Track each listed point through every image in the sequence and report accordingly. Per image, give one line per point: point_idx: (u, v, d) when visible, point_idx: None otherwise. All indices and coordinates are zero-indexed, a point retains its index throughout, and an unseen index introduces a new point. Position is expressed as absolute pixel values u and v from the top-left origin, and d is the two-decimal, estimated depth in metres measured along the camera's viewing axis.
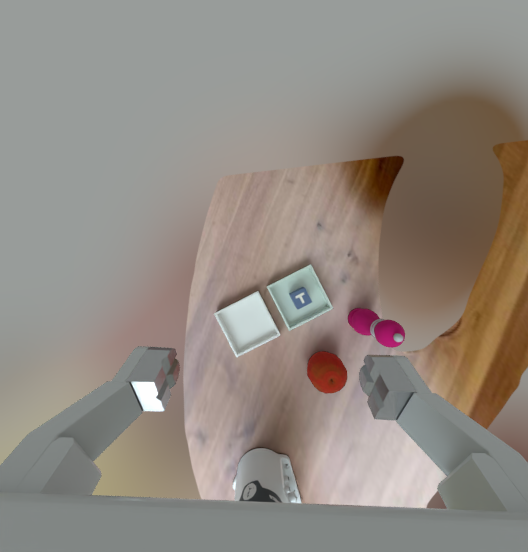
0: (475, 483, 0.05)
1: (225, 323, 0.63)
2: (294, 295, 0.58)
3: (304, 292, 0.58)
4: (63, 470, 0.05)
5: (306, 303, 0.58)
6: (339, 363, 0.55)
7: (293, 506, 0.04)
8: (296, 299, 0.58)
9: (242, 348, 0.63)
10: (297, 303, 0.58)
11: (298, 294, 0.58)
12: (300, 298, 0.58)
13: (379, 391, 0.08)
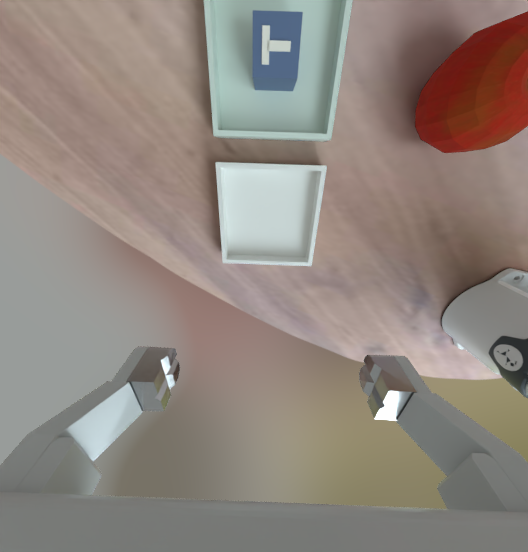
0: (475, 483, 0.05)
1: (250, 252, 0.35)
2: (258, 64, 0.21)
3: (265, 24, 0.19)
4: (63, 470, 0.05)
5: (296, 37, 0.20)
6: (516, 21, 0.17)
7: (293, 506, 0.04)
8: (271, 64, 0.21)
9: (304, 248, 0.34)
10: (282, 68, 0.21)
11: (261, 48, 0.20)
12: (274, 48, 0.20)
13: (379, 391, 0.08)
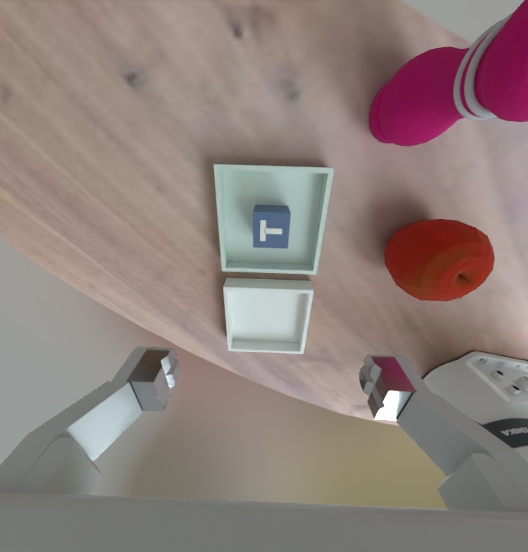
0: (475, 483, 0.05)
1: (251, 339, 0.41)
2: (257, 240, 0.27)
3: (262, 219, 0.25)
4: (63, 469, 0.05)
5: (286, 226, 0.26)
6: (447, 236, 0.23)
7: (293, 506, 0.04)
8: (267, 240, 0.27)
9: (297, 336, 0.41)
10: (276, 243, 0.27)
11: (259, 232, 0.26)
12: (269, 232, 0.26)
13: (379, 391, 0.08)
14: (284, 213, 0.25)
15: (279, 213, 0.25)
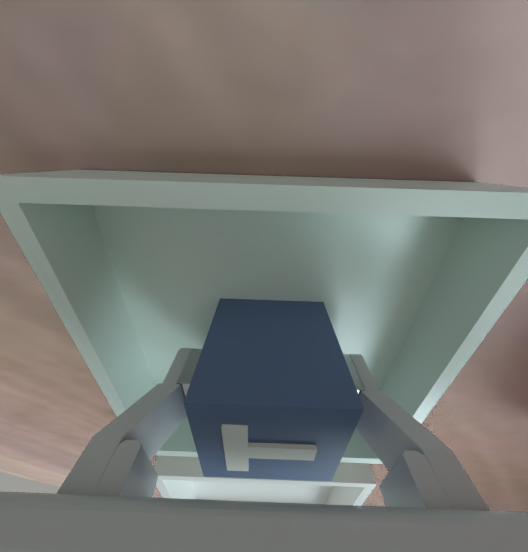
0: (405, 480, 0.05)
1: None
2: (218, 465, 0.07)
3: (230, 422, 0.06)
4: (133, 473, 0.05)
5: (334, 439, 0.06)
6: None
7: (293, 506, 0.04)
8: (255, 467, 0.07)
9: (322, 501, 0.21)
10: (288, 471, 0.07)
11: (223, 451, 0.06)
12: (263, 455, 0.06)
13: None
14: (332, 407, 0.05)
15: (309, 407, 0.05)
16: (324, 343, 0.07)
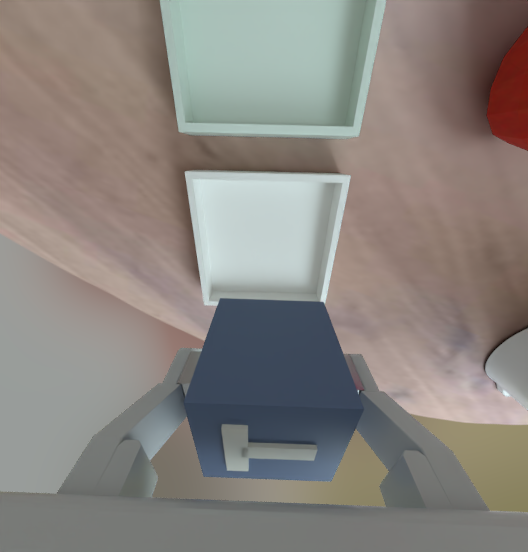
0: (405, 480, 0.05)
1: (241, 288, 0.26)
2: (218, 465, 0.07)
3: (231, 422, 0.06)
4: (133, 473, 0.05)
5: (334, 439, 0.06)
6: None
7: (293, 506, 0.04)
8: (255, 467, 0.07)
9: (314, 282, 0.26)
10: (288, 471, 0.07)
11: (223, 451, 0.06)
12: (263, 455, 0.06)
13: None
14: (332, 406, 0.05)
15: (309, 407, 0.05)
16: (324, 343, 0.07)
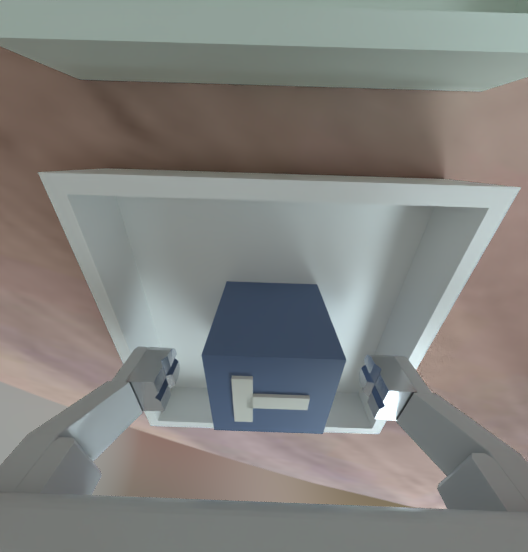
0: (475, 483, 0.05)
1: None
2: (227, 417, 0.08)
3: (239, 373, 0.07)
4: (63, 470, 0.05)
5: (323, 390, 0.07)
6: None
7: (293, 506, 0.04)
8: (258, 419, 0.08)
9: (358, 379, 0.14)
10: (286, 423, 0.08)
11: (232, 402, 0.08)
12: (265, 405, 0.08)
13: (379, 391, 0.08)
14: (321, 358, 0.07)
15: (302, 359, 0.07)
16: (316, 315, 0.08)
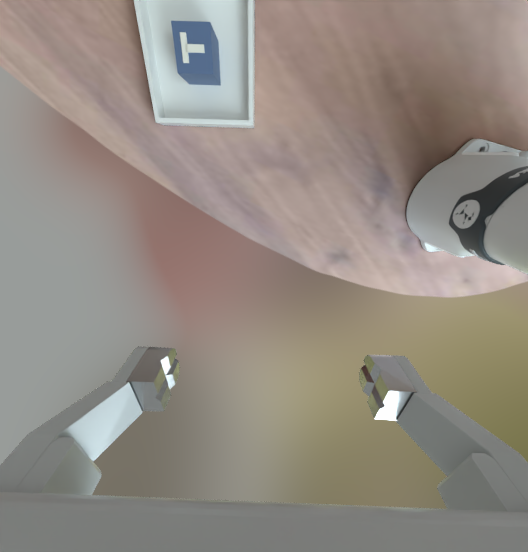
0: (475, 483, 0.05)
1: (188, 117, 0.32)
2: (181, 63, 0.26)
3: (182, 31, 0.25)
4: (63, 469, 0.05)
5: (207, 41, 0.25)
6: None
7: (293, 506, 0.04)
8: (191, 63, 0.26)
9: (247, 109, 0.31)
10: (200, 66, 0.26)
11: (181, 50, 0.25)
12: (191, 50, 0.25)
13: (379, 391, 0.08)
14: (203, 23, 0.24)
15: (198, 22, 0.24)
16: None
